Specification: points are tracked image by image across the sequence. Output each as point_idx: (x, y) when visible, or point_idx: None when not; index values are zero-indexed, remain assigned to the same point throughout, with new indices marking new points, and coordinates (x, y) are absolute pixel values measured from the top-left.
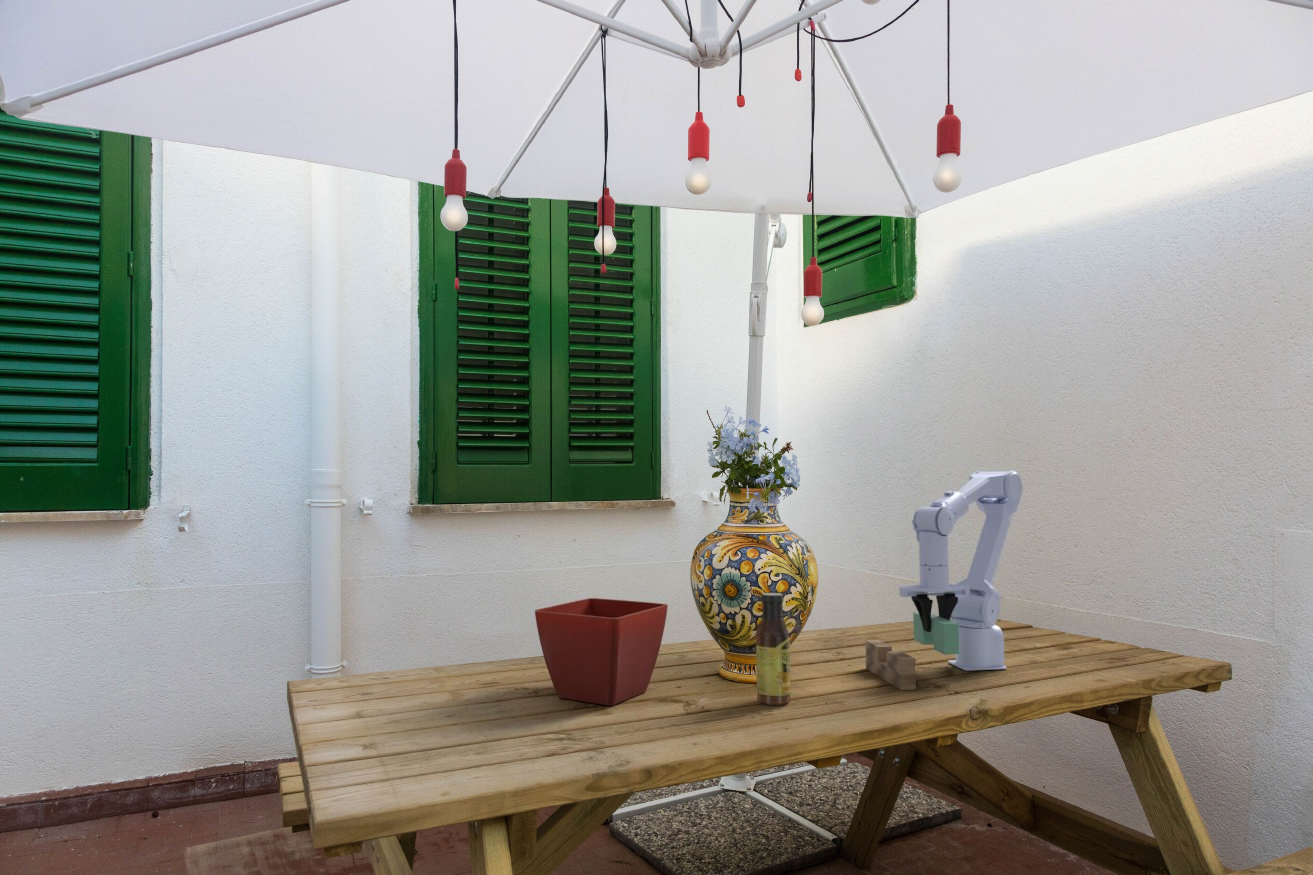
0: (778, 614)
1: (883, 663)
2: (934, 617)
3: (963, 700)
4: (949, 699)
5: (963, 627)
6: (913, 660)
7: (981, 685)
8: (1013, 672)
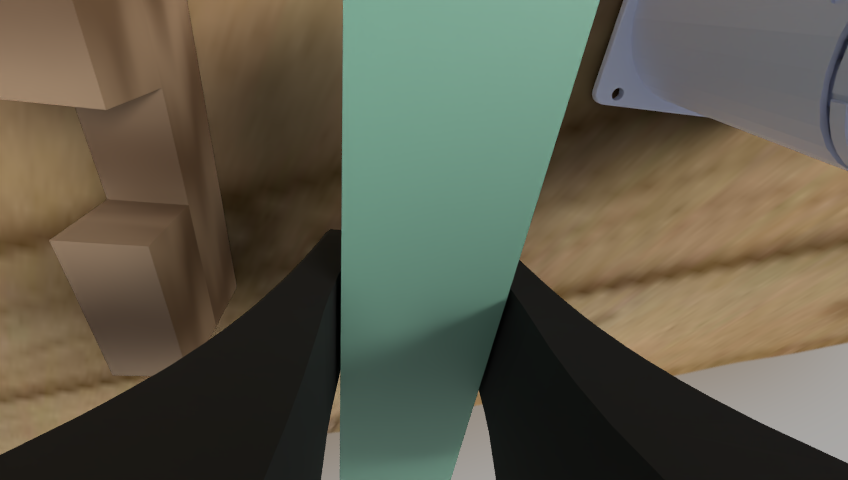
0: None
1: (96, 131)
2: (419, 339)
3: None
4: None
5: (824, 91)
6: None
7: None
8: (745, 166)
